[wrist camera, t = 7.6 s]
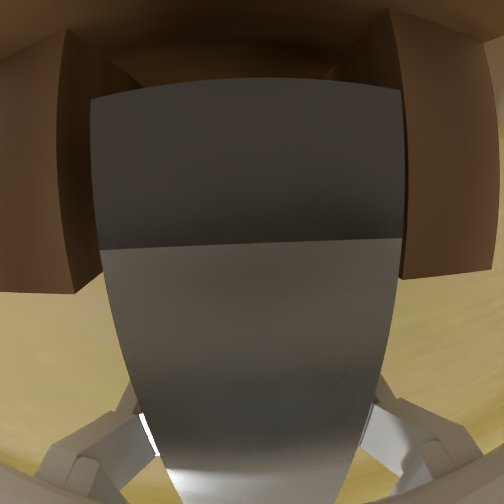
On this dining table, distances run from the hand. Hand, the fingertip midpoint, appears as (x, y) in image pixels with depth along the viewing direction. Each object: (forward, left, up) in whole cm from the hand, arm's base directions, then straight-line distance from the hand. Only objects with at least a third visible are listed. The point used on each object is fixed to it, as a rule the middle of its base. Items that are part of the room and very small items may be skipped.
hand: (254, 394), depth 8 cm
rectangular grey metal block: (0, 0, -2) cm, 2 cm away
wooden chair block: (0, -7, -6) cm, 9 cm away
